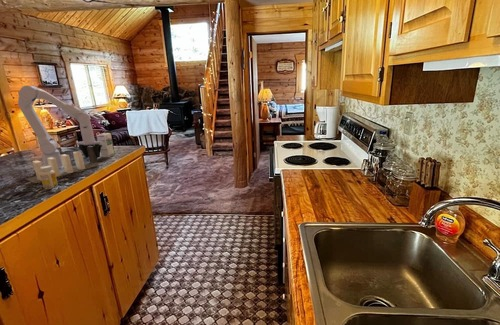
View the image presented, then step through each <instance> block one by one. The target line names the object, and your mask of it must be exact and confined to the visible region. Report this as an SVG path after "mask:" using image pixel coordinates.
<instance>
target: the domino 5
mask: <svg viewBox="0 0 500 325" xmlns="http://www.w3.org/2000/svg"><path fill="white" fill-rule="evenodd" d="M92 146H93V145H88V147H87V151H88V155H89V157H88V159H89V162H92V163H97V162H99V161H98V158H97V157H96V154H95V151H94V149H93V147H92Z"/></svg>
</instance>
